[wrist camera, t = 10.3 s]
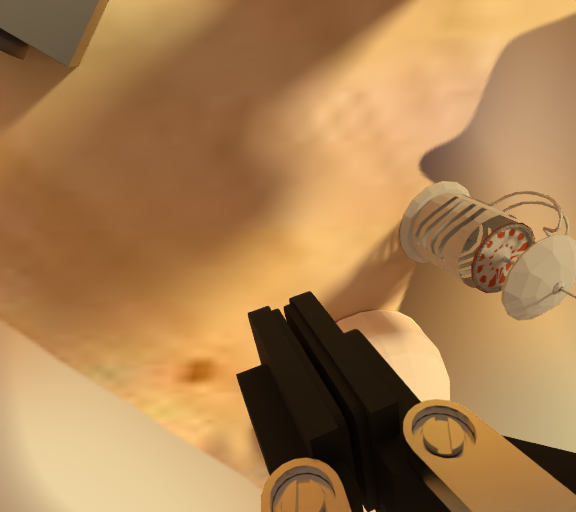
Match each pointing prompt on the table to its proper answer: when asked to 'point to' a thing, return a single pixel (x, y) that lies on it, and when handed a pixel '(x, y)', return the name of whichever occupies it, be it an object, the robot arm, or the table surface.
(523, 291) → the french press
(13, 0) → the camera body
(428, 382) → the kettle
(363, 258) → the table surface
